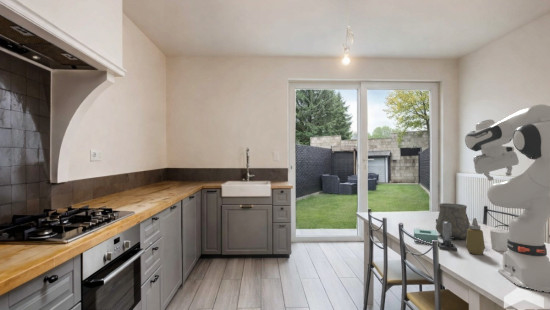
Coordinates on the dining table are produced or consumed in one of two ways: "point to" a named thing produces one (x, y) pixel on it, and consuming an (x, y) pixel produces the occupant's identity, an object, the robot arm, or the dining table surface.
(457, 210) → the vessel
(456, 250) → the mount collar
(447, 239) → the spigot
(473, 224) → the squeeze bottle
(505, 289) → the dining table surface
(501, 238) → the white cup
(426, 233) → the socket block
